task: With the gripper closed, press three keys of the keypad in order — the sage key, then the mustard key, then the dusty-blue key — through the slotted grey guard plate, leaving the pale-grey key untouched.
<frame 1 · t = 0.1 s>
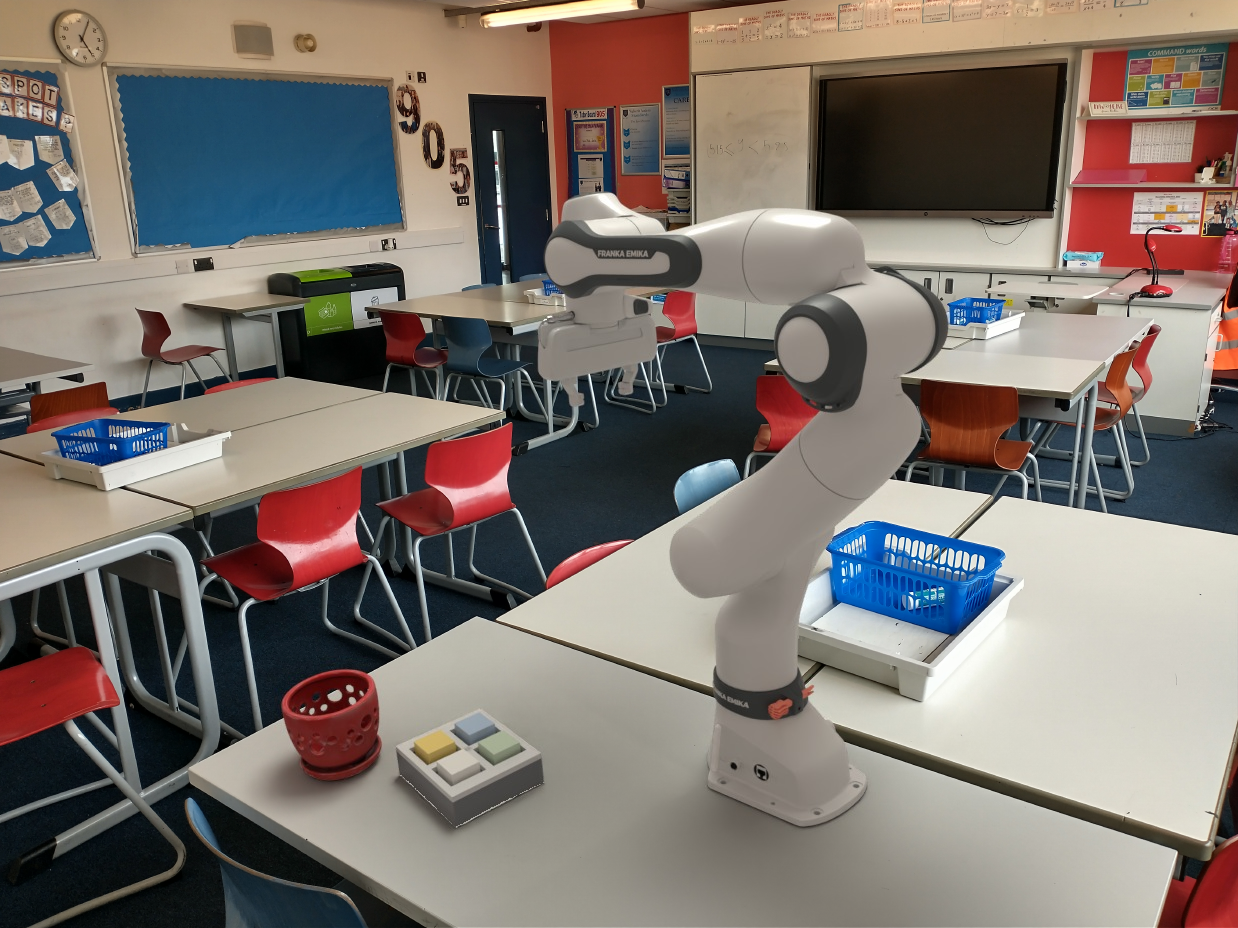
hand: (601, 399, 143), 48 cm above the table, fingers open, 8 cm apart
key grey: (458, 769, 128), point 5 cm above the table, slide at 0.0 cm
key blue: (475, 731, 136), point 5 cm above the table, slide at 0.0 cm
keypad: (470, 778, 133), on the table
plant pot: (340, 764, 139), on the table
key mustard: (435, 749, 133), point 5 cm above the table, slide at 0.0 cm
key sage: (499, 750, 132), point 5 cm above the table, slide at 0.0 cm
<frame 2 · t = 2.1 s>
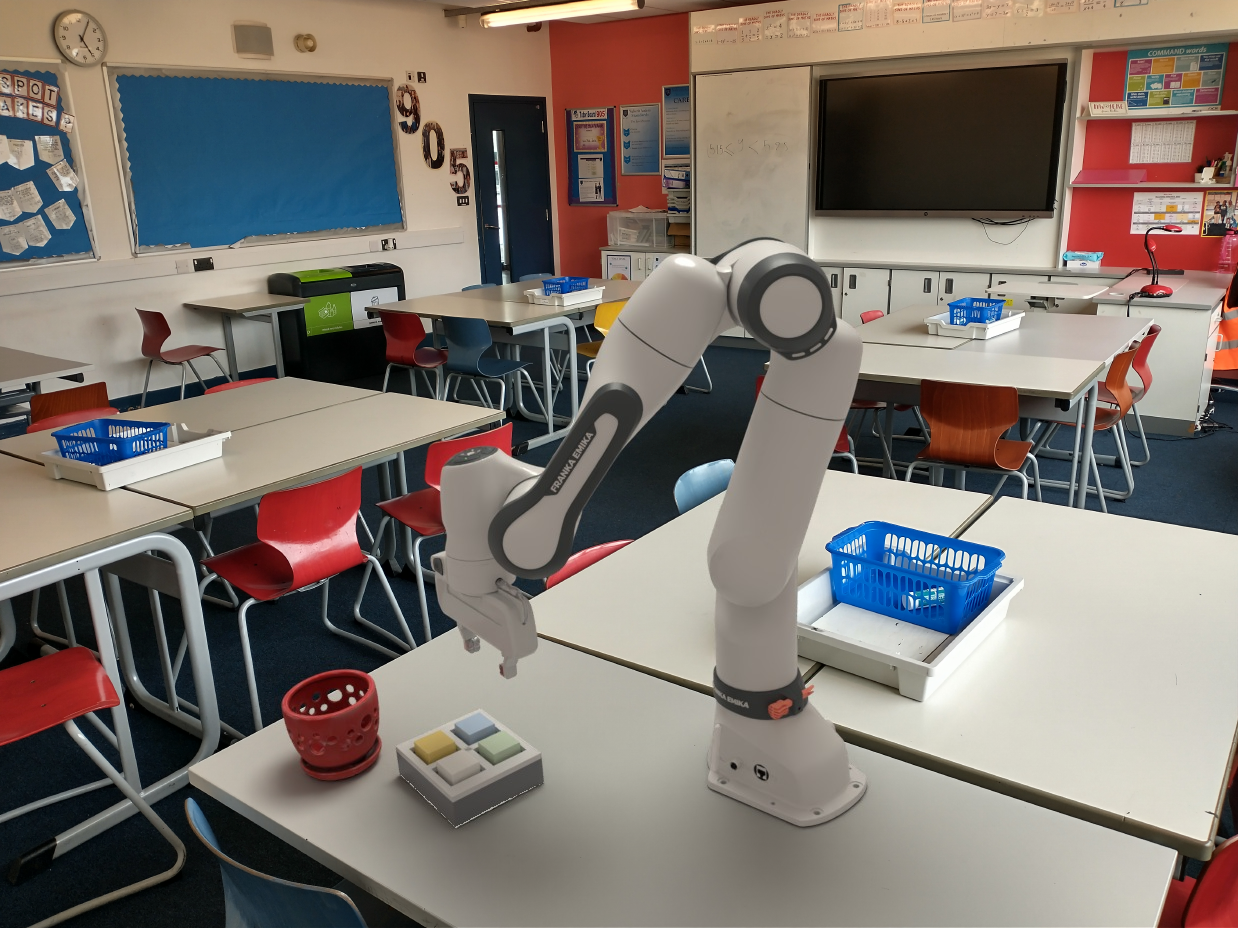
hand: (490, 662, 128), 18 cm above the table, fingers open, 8 cm apart
nothing on the table moved.
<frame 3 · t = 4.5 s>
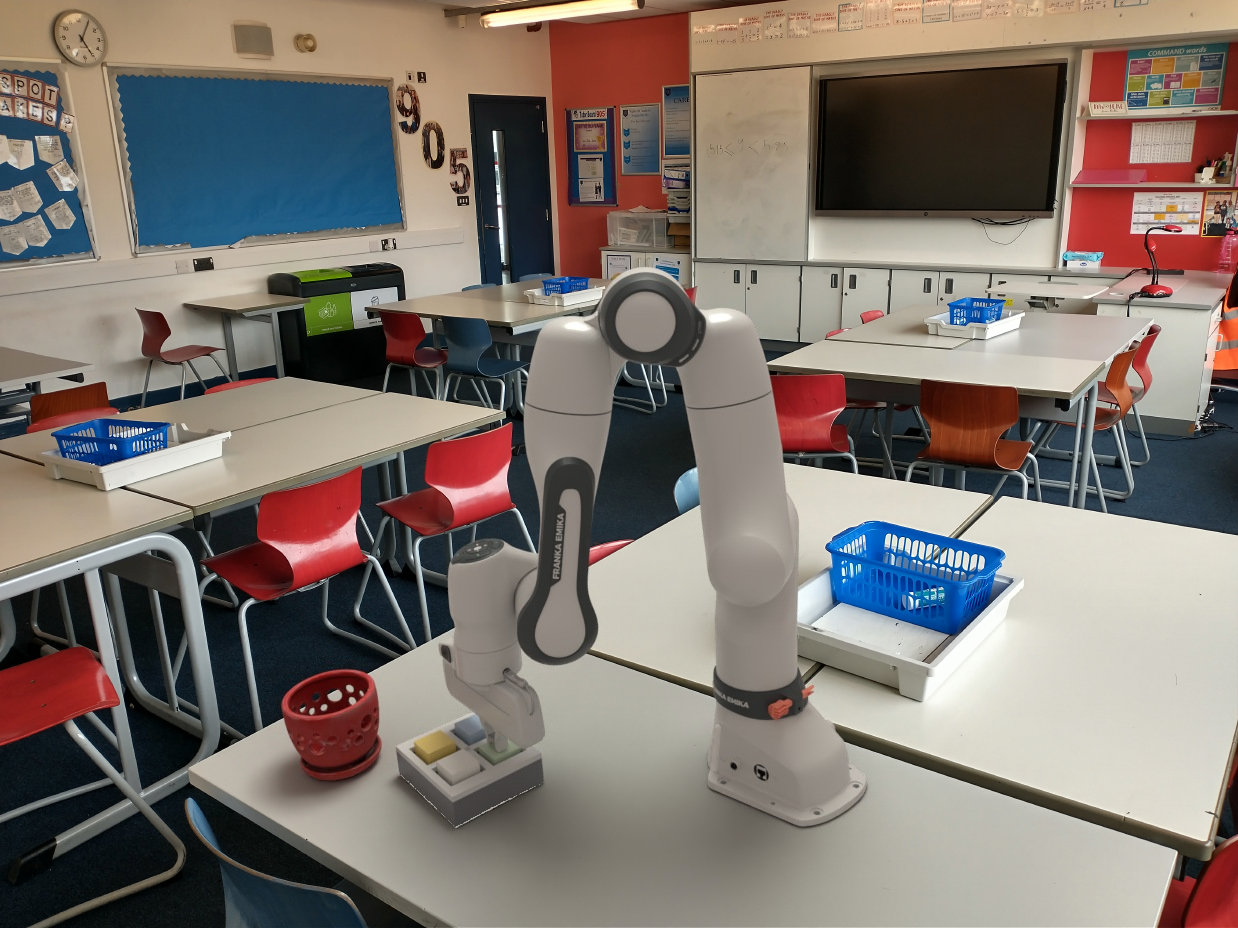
hand: (497, 746, 132), 5 cm above the table, fingers closed, pressing on key sage
key sage: (500, 755, 132), point 4 cm above the table, slide at -0.8 cm, touching gripper
everything else where it was.
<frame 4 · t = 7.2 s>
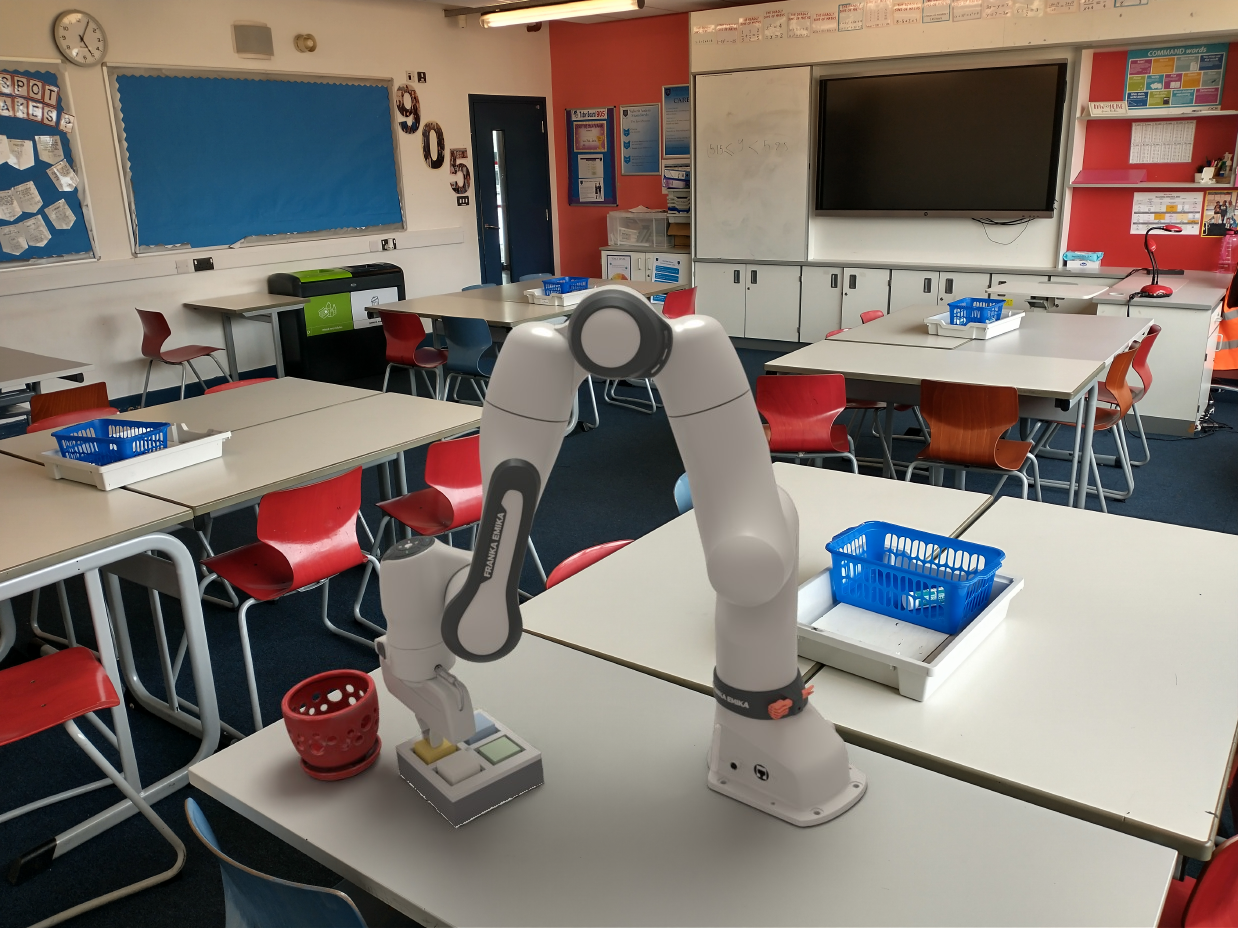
hand: (433, 742, 132), 6 cm above the table, fingers closed, pressing on key mustard
key mustard: (435, 750, 133), point 4 cm above the table, slide at -0.2 cm, touching gripper
key sage: (500, 756, 132), point 4 cm above the table, slide at -1.1 cm
everything else where it was.
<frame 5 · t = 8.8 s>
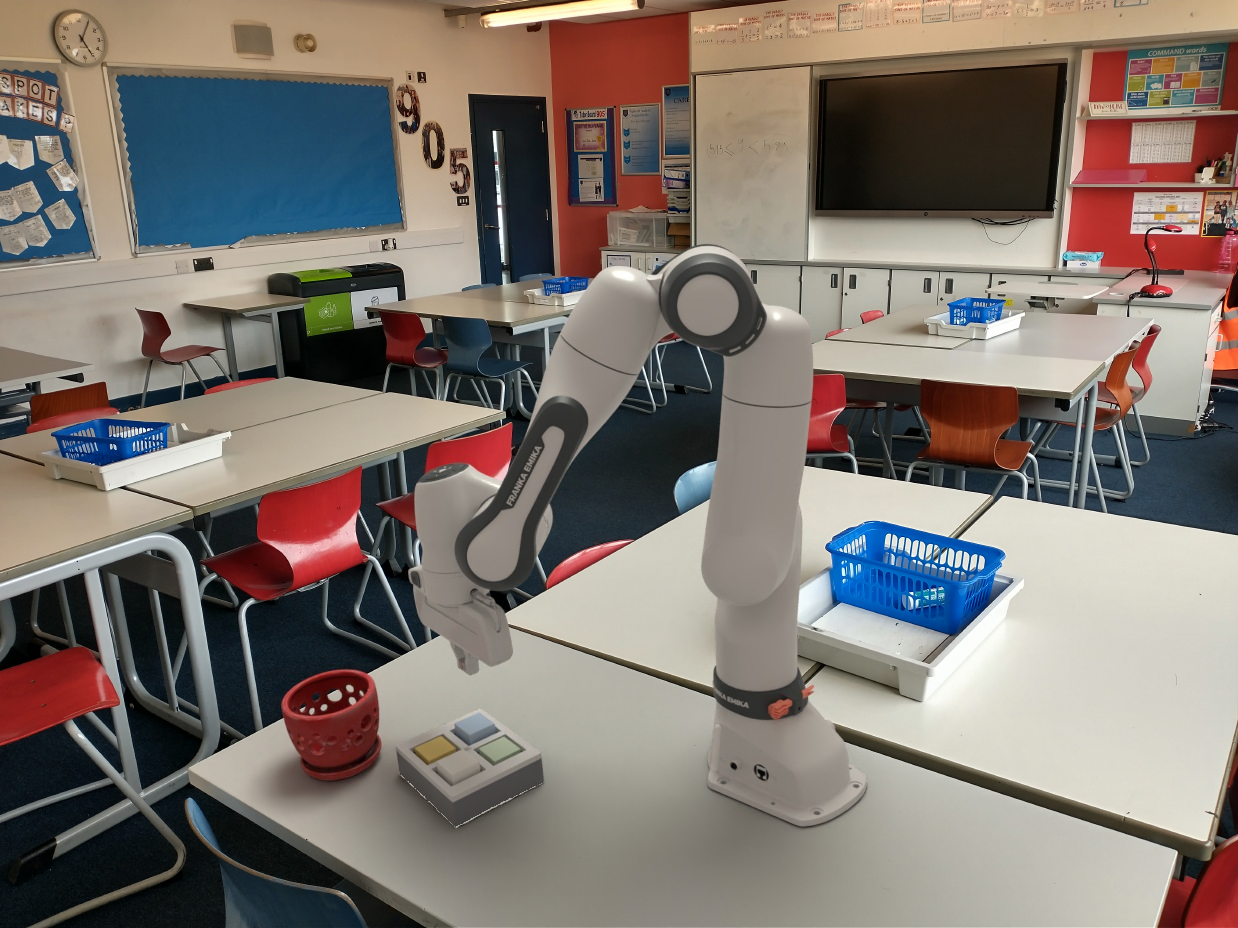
hand: (468, 670, 133), 15 cm above the table, fingers closed
key mustard: (436, 755, 133), point 4 cm above the table, slide at -1.0 cm
everything else where it was.
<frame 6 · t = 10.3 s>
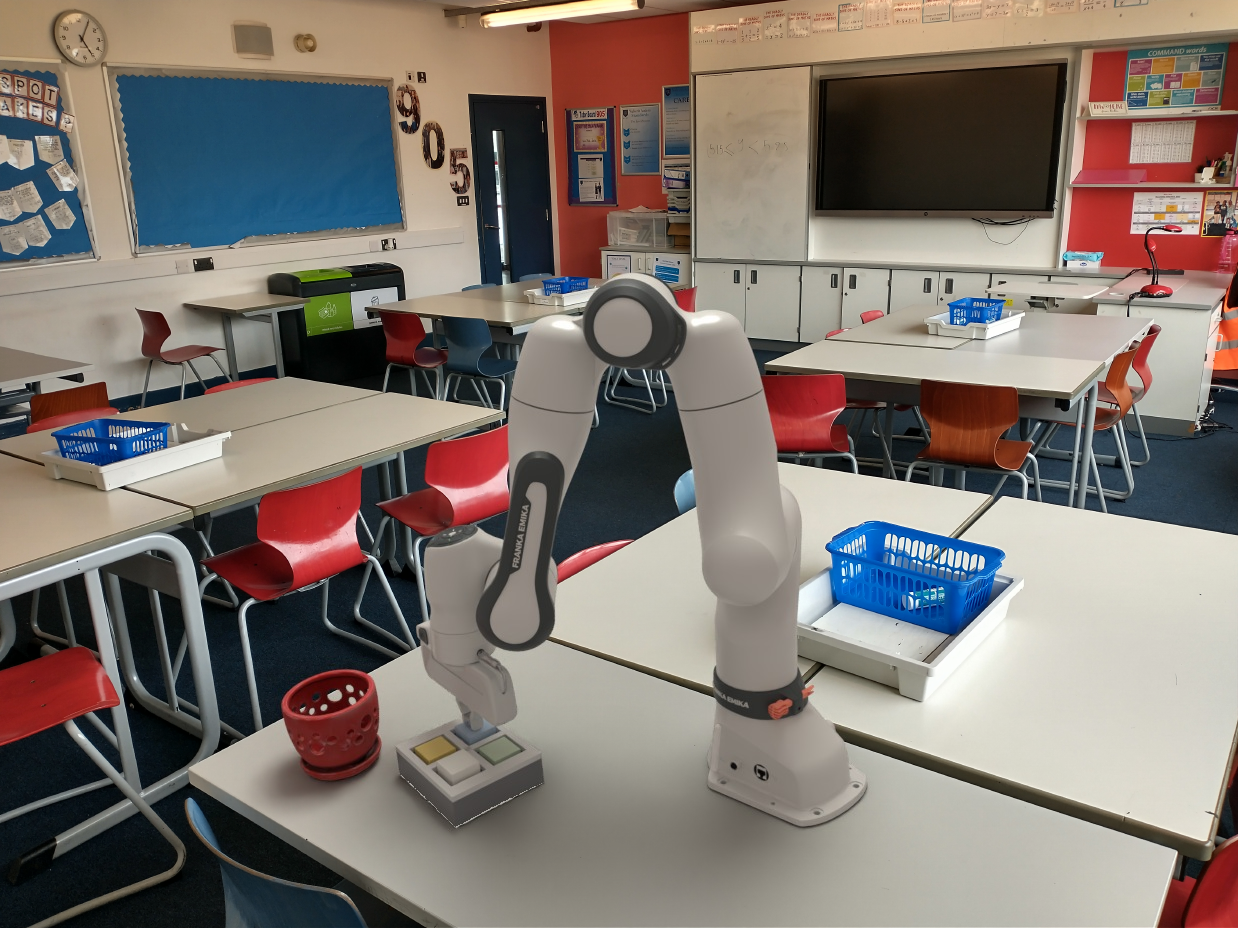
hand: (473, 725, 136), 6 cm above the table, fingers closed, pressing on key blue
key blue: (475, 734, 137), point 4 cm above the table, slide at -0.5 cm, touching gripper
everything else where it was.
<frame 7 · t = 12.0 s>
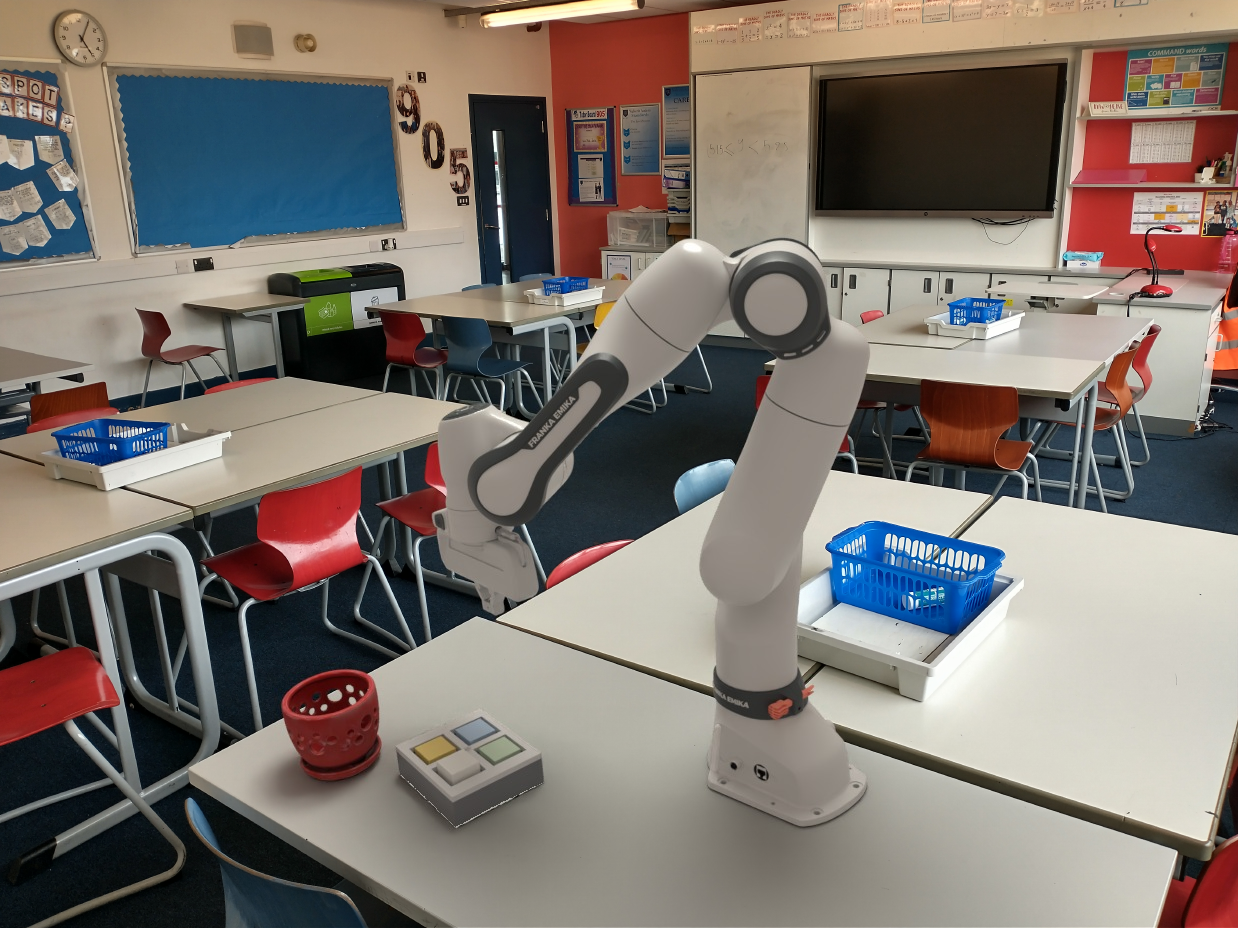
hand: (494, 611, 135), 22 cm above the table, fingers closed
key blue: (476, 737, 137), point 4 cm above the table, slide at -1.0 cm
everything else where it was.
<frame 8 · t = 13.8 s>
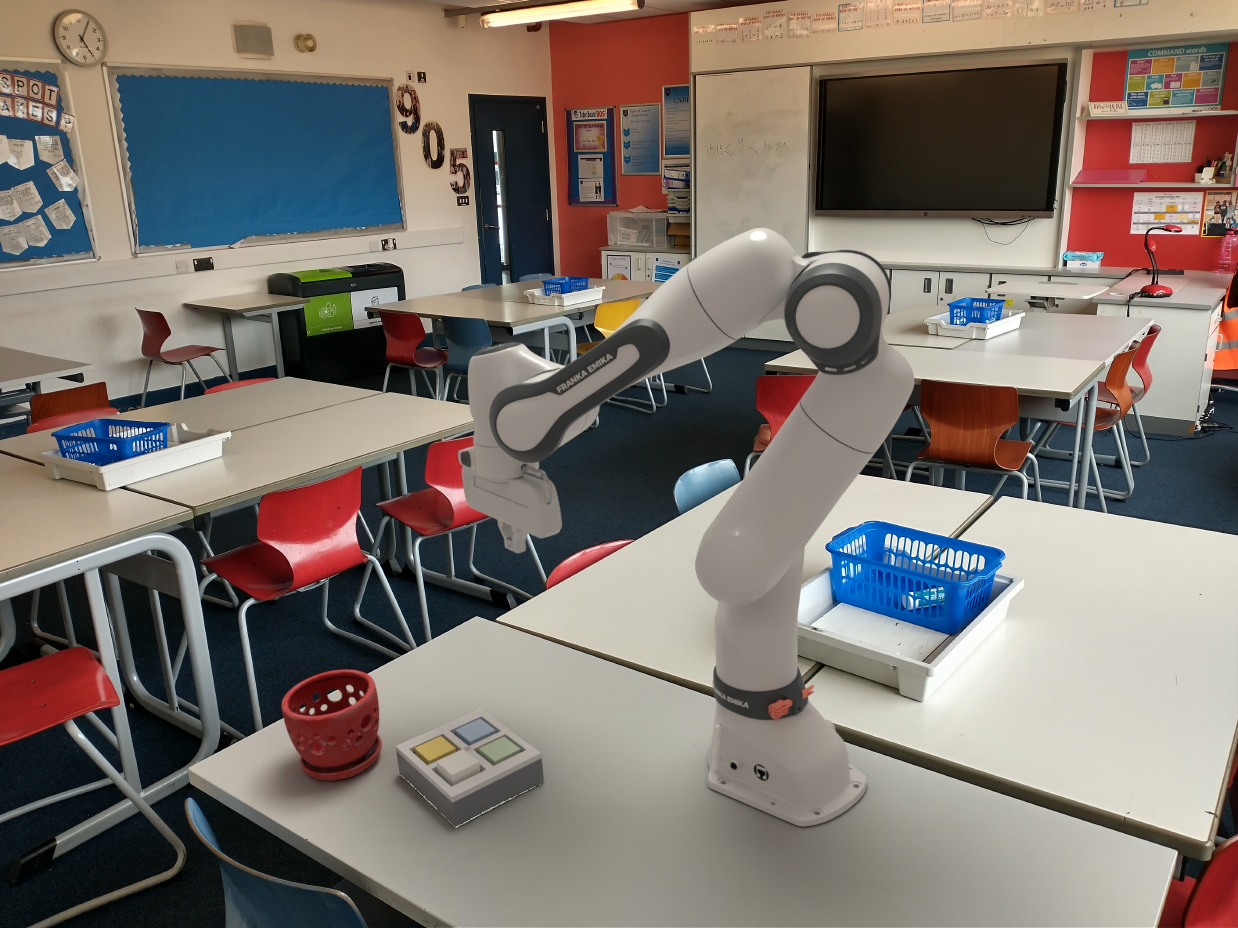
hand: (515, 549, 137), 29 cm above the table, fingers closed
nothing on the table moved.
at the end: key sage slide at -1.1 cm; key mustard slide at -1.0 cm; key blue slide at -1.0 cm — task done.
